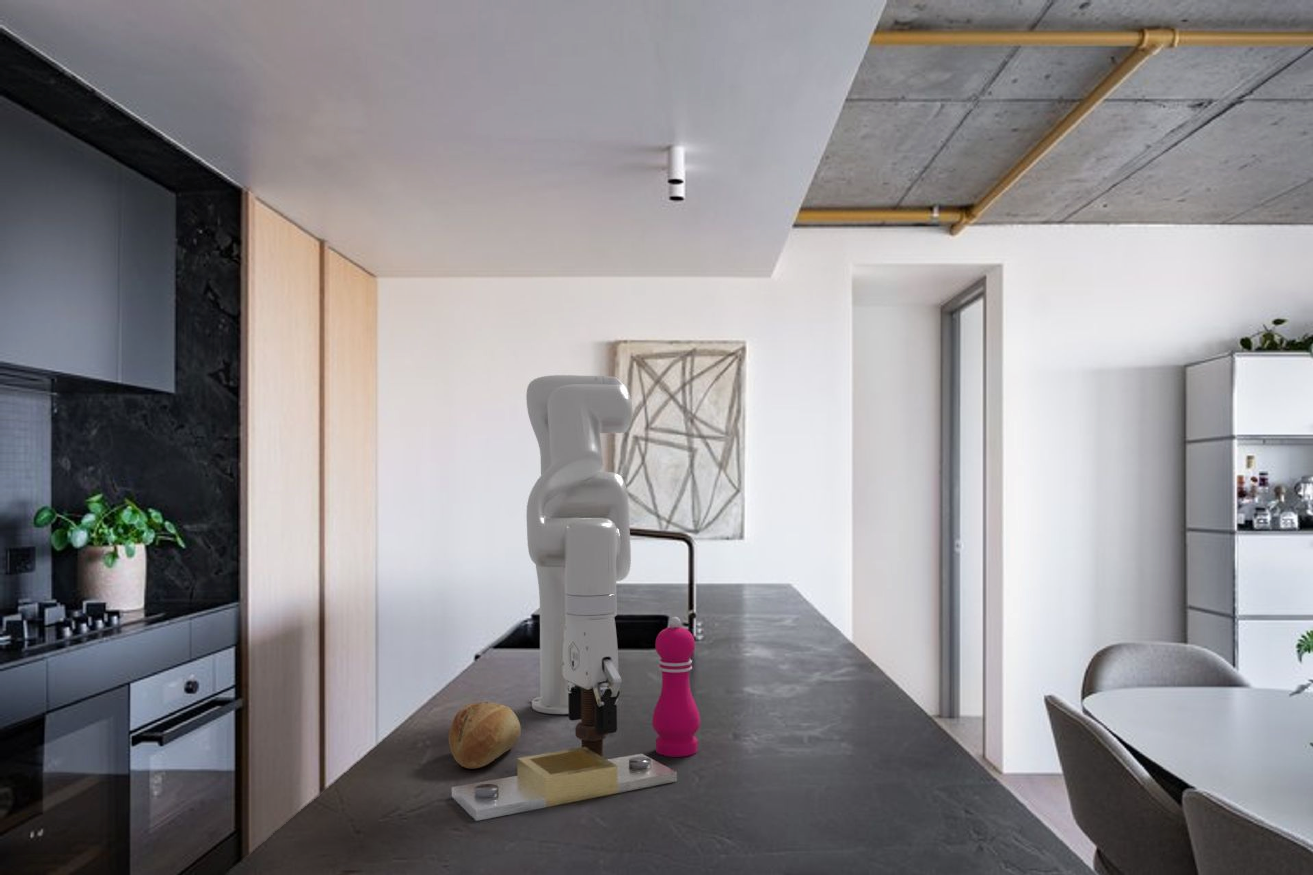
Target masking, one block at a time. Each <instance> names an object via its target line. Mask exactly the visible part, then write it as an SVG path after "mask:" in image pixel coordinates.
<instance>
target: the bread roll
mask: <svg viewBox="0 0 1313 875" xmlns="http://www.w3.org/2000/svg"><path fill="white" fill-rule="evenodd" d="M521 731H522V729H521V724H520V721H519V718H518V716H517V715H516V713H515V712H514V711H513V709H511V707H510V706H507V705H503V704H500V703H497V702H488V701H484V702H483V701H482V702H476V703H471V704H468V705H465V706H464V707H463V708H462V709H461V710H459V711H458V712H457V713H456V714H455V716H454V717H453V720H452V722H451V725H450V728H449V732H448V744H449V745H448V746H449V749H450V751H451V755H452V756H453V759H454V760H455V761H456V762H457V764H459V765H460V766H461V767H464V768H466V769H479V768H483V767H485V766H487V765H489V764H490V763H492V762H494V761H495V759H498V758H499V757H500V756H501V755H503V754H504V753H505V752H508V751H510V750H511V749H512V748H514V747H515V745H516V744H517V743H518V741H519V739H520V737H521V734H522V732H521Z"/></svg>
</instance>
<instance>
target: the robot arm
mask: <svg viewBox="0 0 1313 875" xmlns="http://www.w3.org/2000/svg"><path fill="white" fill-rule="evenodd" d="M526 389H527V390H526V394H525V397H526V398H525V399H526V407H527V408H526V409H527V413H528V417H529V418H528V419H529V422H530V426H531V427H532V430H533V432H534V435H535V437H536V441H537V444H538V447H539V454H540V476H539V478H538V479H537V480H536V482H535V483H534V485H533V487H532V489H531V490H530V494H529V496H528V498H527V499H528V500H527V505H526V537H527V538H526V539H527V548H528V555H529V557H530V560H531V561H532V562H533V564H535V570H536V575H537V576H536V577H537V582H538V584H537V585H538V595H539V650H540V651H539V655H540V657H539V658H540V659H539V662H540V666H539V668H540V670H539V674H540V677H539V679H540V680H539V681H540V682H539V685H540V688H539V689H540V695H539V696H536V697H535V698H533V699H532V701H531V708H532V709H533V710H534V711H536V712H539V713H543V714H550V715H568V717H567V718H568V720H570V721H573V722H574V721H579V720H580V721H581V719H582V718H581V717H582V716H581V712H582V711H581V710H582V709H581V705H582V704H581V703H582V702H581V698H582V697H581V696H582V695H581V688H584V689H586V690H589V689H591V688H592V686H593V690H594V693H595V697H596V701H597V704H598V705H597V706H595V733H596V734H597V735H603V734H608V735H609V734H615V733H616V732H617V731H618V714H617V713H618V708H617V706H618V704H619V697H620V693H621V692H620V688H621V685H622V681H623V680H622V677H621V675H620V674H619V657H618V656H619V650H618V637H617V628H616V620H615V617H616V616H618V614H617V613H618V612H617V611H618V608H617V607H618V602H617V601H618V600H617V599H618V598H617V594H618V593H617V582H620V581H624V580H625V579H626V578H627V577H628V575H629V573H630V570H631V564H632V563H631V561H632V559H631V558H632V557H631V556H632V554H631V553H632V552H631V551H632V550H631V549H632V548H631V533H630V532H631V531H630V530H631V529H630V509H629V494H628V488H627V485H626V483H625V482H626V481H625V480H624V478H623V477H622V476H621V475H620V474H618V473H616V472H611V471H601V470H602V469H603V465H604V459H603V449H602V441H601V434H624V433H626V432H627V431H629V429H630V427H631V425H632V422H633V415H634V414H633V412H634V411H633V410H634V409H633V402H632V398H631V395H630V392H629V390H628V388H627V387H626V386H625V384H624V383H623V382H621V380H620V379H618V378H617V377H616V376H610V375H571V374H570V375H569V374H566V375H565V374H561V375H560V374H559V375H558V374H555V375H554V374H553V375H546V376H545V375H544V376H540V377H537V378H534V379H532V380H531V381H530V382H529V384H528V385H527V388H526ZM572 661H574V666H573V665H572ZM572 668H573V669H572ZM598 682H603V683H598ZM601 690H603V691H602V692H603V693H602V692H601ZM602 694H603V696H602Z"/></svg>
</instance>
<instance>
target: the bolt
mask: <svg viewBox="0 0 1313 875" xmlns="http://www.w3.org/2000/svg"><path fill="white" fill-rule="evenodd" d="M572 665H573V666H574V661H572ZM572 669H573V668H572ZM598 683H603V682H598ZM601 692H602V696H603V694H604V690H601ZM581 695H582V696H581V697H582V698H581V702H582V703H581V704H582V705H581V709H582V710H581V711H582V712H581V716H582V717H581V718H582V719H580V721H579V722H577V724H575V725H576V726H575V731H574V732H575V737H576V738H578V740H581V746H580V747H586V748H588V749H589V750H591V751H593V752H595V753H596V754H598V755H600V756H601V757H603V758H604V739H606V738H607V736H608V735H609V734H603V735H597V734H596V733H595V706H597V705H598V704H597V701H596V697H595V693H594V690H593V686H592V688H591V689H589V690H586V689H584V688H581Z"/></svg>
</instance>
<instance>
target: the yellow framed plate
mask: <svg viewBox="0 0 1313 875" xmlns="http://www.w3.org/2000/svg"><path fill="white" fill-rule="evenodd" d="M516 760H517V763H516V764H517V766H516V767H517V768H516V769H517V772H516V773H517V775H514V776H513V775H512V776H507V777H502V778H496V779H491V780H485V781H480V782H479V781H478V782H473V783H468V784H463V785H457V786H452V787H451V798H452V799H454V801H455V802H456V803H457V804H459V806H460V807H461V808H462V809H464V810H465V812H466V813H467V814H468V815H469V816H470V817H471V818H473V820H474V821H475V822H478V821H483V820H489V819H492V818H498V817H503V816H508V815H513V814H518V813H524V812H528V811H533V810H539V809H543V808H549V807H554V806H558V805H564V804H570V803H574V802H579V801H585V800H588V799H594V798H598V797H599V798H600V797H605V796H609V795H614V794H621V793H624V792H628V791H629V792H630V791H634V790H639V789H645V788H650V787H655V786H660V785H661V786H662V785H665V784H670V783H676V782H678V772H677V771H676V770H673V769H671V768H670V767H668V766H667V765H664V764H662V763H660V762H658V761H656V760H655V759H653V758H651V757H649V756H648V755H645V754H644V753H638V754H632V755H626V756H621V757H620V756H619V757H614V758H609V759H606V758H605V757H604V756H603V757H601V756H600V755H598V754H596V753H595V752H593V751H591V750H589V749H588V748H586V747H582V746H580V747H577V748H576V747H575V748H571V749H570V748H569V749H565V750H558V751H552V752H546V753H540V754H533V755H528V756H523V757H522V756H521V757H518V758H516Z"/></svg>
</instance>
